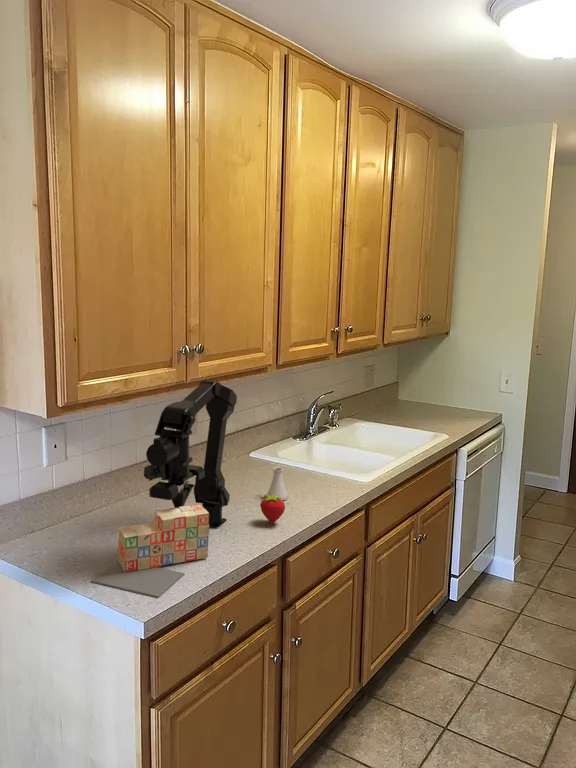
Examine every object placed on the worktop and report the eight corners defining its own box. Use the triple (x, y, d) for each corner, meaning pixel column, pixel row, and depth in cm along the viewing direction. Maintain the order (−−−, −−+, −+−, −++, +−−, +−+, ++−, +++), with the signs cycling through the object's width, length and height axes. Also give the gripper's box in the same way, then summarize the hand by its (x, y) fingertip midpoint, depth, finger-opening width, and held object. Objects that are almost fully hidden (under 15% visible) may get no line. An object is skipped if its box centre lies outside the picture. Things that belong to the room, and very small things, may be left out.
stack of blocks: (124, 573, 154) (124, 525, 152) (118, 562, 160) (117, 515, 157) (208, 557, 164) (209, 512, 162) (199, 547, 170) (200, 503, 167)
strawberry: (279, 529, 184) (280, 496, 182) (256, 524, 187) (257, 491, 185) (287, 522, 190) (289, 490, 188) (264, 517, 192) (265, 485, 191)
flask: (280, 504, 204) (282, 473, 202) (261, 499, 207) (262, 469, 206) (292, 497, 210) (293, 468, 208) (273, 492, 214) (274, 463, 212)
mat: (120, 560, 162) (120, 559, 161) (184, 574, 156) (184, 573, 156) (91, 582, 150) (90, 580, 150) (158, 597, 145) (158, 596, 144)
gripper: (168, 441, 174) (169, 495, 178) (129, 461, 157) (131, 521, 160) (205, 446, 171) (205, 501, 174) (170, 467, 154) (170, 528, 157)
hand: (178, 512), depth 166 cm, fingers closed
